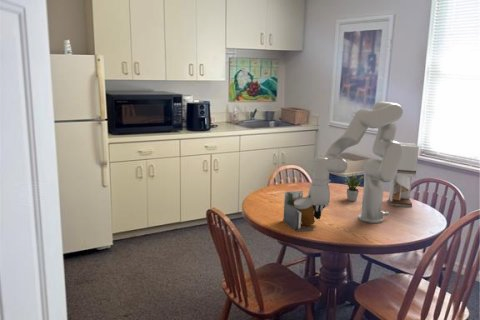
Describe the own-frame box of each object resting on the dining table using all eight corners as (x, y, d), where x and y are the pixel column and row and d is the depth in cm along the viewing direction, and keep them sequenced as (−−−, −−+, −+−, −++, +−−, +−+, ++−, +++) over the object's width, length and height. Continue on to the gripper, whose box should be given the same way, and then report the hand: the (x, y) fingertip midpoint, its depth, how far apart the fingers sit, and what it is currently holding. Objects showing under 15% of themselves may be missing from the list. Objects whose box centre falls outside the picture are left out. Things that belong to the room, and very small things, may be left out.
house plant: (368, 204, 234) (371, 176, 231) (344, 203, 234) (346, 176, 231) (361, 197, 248) (364, 171, 245) (339, 196, 248) (341, 170, 245)
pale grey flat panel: (289, 219, 204) (291, 192, 202) (300, 229, 192) (302, 200, 189) (287, 219, 204) (289, 192, 201) (298, 229, 192) (300, 200, 189)
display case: (390, 205, 234) (397, 145, 227) (388, 199, 244) (394, 142, 237) (411, 207, 231) (418, 146, 224) (408, 201, 241) (415, 143, 234)
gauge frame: (300, 219, 207) (302, 190, 204) (314, 230, 193) (316, 199, 190) (282, 220, 205) (284, 191, 202) (295, 231, 190) (297, 201, 187)
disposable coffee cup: (321, 219, 200) (316, 197, 196) (311, 228, 193) (305, 206, 190) (305, 217, 206) (300, 195, 203) (295, 226, 200) (289, 204, 197)
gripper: (330, 179, 203) (327, 214, 206) (303, 180, 198) (300, 216, 202) (338, 183, 196) (334, 219, 199) (309, 184, 191) (306, 221, 195)
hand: (317, 218), depth 201 cm, fingers closed
